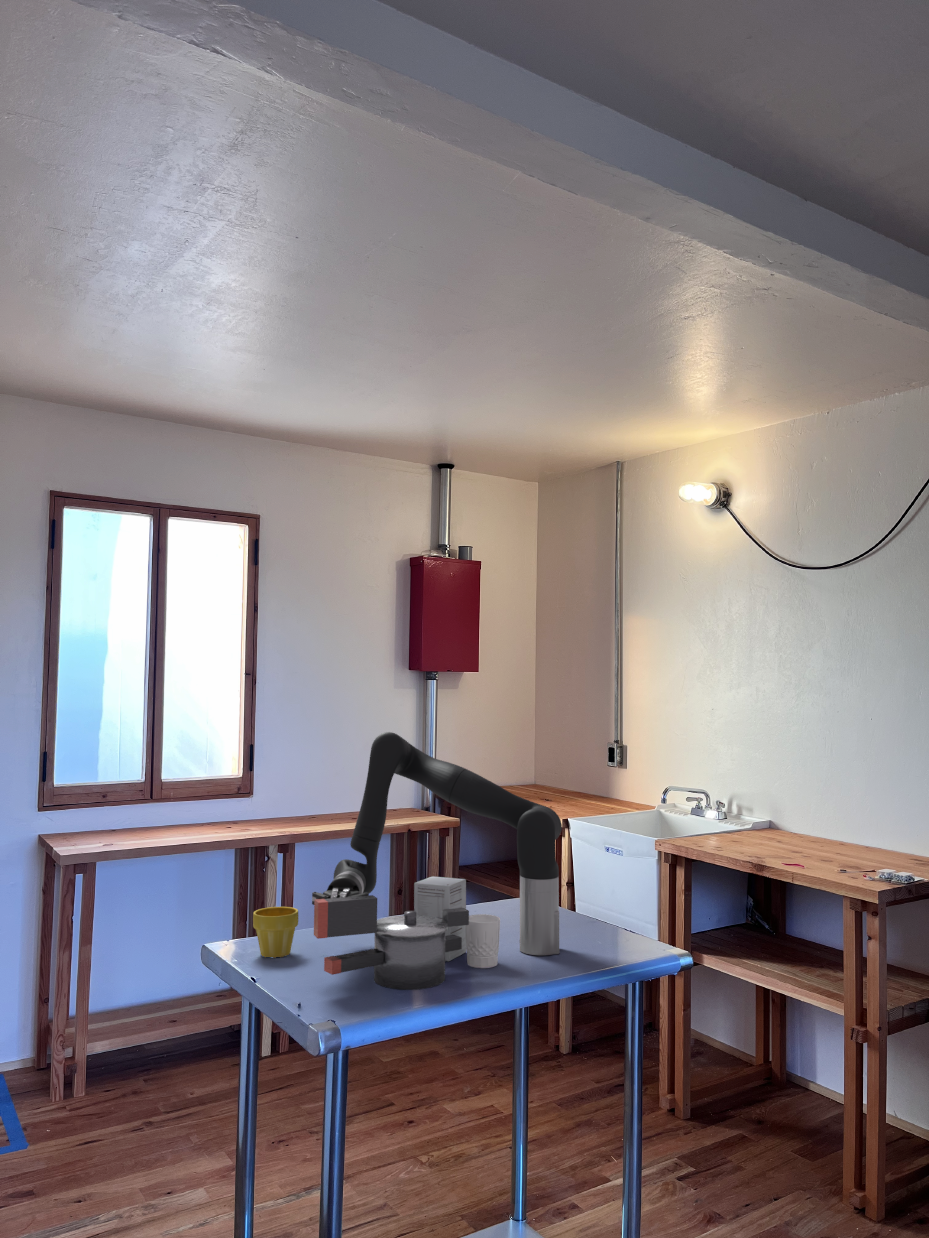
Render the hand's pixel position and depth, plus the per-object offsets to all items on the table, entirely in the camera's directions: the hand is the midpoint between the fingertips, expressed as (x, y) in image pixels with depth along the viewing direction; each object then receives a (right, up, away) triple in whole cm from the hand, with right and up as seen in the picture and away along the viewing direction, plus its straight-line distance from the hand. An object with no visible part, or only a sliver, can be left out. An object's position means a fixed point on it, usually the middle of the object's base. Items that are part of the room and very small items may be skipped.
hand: (334, 907), depth 190 cm
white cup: (+31, -17, +14) cm, 38 cm away
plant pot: (-17, -18, +21) cm, 32 cm away
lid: (+12, -6, +3) cm, 14 cm away
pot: (+13, -16, +1) cm, 20 cm away
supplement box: (+21, -18, +22) cm, 35 cm away
